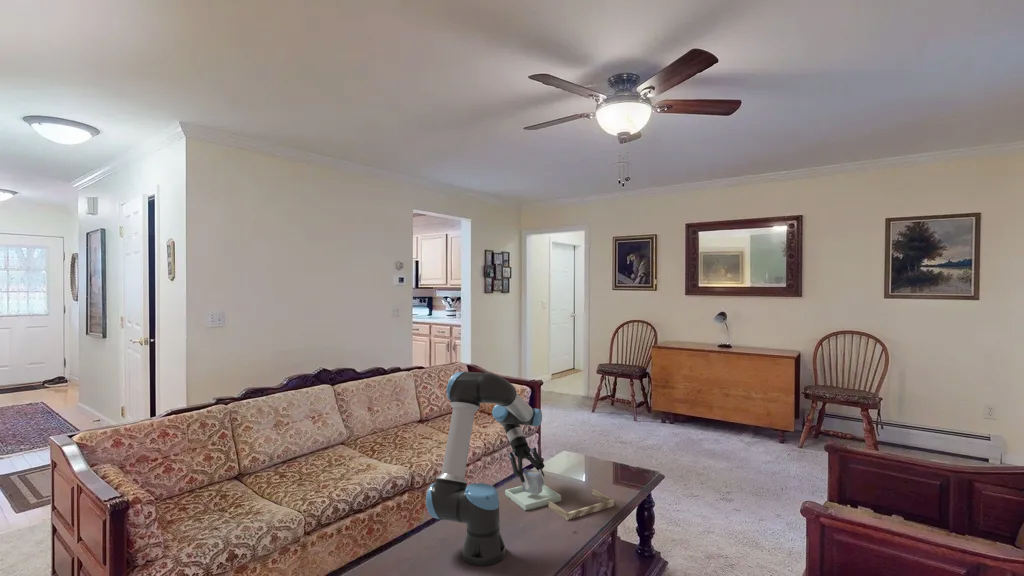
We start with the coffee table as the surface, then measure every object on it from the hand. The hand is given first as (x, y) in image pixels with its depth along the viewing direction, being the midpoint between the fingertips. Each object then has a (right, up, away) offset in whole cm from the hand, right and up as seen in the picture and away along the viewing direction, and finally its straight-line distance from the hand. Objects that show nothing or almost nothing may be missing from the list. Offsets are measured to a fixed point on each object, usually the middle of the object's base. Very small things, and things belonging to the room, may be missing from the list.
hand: (536, 486), depth 216 cm
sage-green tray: (-1, -6, +3) cm, 7 cm away
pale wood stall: (+19, -6, -8) cm, 21 cm away
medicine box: (-2, -4, +3) cm, 5 cm away
